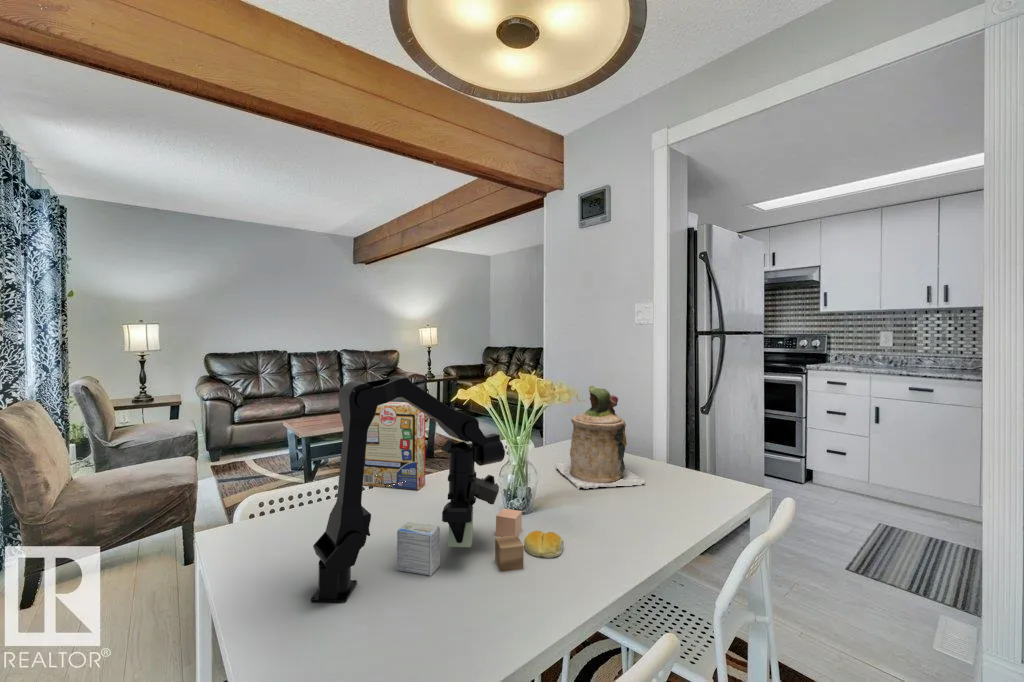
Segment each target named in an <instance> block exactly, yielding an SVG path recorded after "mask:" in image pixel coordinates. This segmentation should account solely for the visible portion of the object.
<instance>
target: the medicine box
mask: <svg viewBox="0 0 1024 682" xmlns="http://www.w3.org/2000/svg"><path fill="white" fill-rule="evenodd" d="M440 531H441V530H440V526H439V525H433V524H426V523H418V522H410V521H407V522H406V523H404V524H403V525H402V526H401V527H400V528H399V529H397V531H396V570H397V571H401V572H406V573H407V572H408V573H413V574H417V575H425V576H426V575H427V576H430V577H431V576H432V575H433V574H434V572H435V571H436V570H438V568H439V567H440V564H441V563H440V562H441V560H440V555H441V549H440V548H441V547H440V544H441V542H440V541H441V539H440V535H441V534H440V533H441V532H440Z"/></svg>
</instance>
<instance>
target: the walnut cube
mask: <svg viewBox="0 0 1024 682" xmlns="http://www.w3.org/2000/svg"><path fill="white" fill-rule="evenodd" d="M524 549H525V547H524V543H523V542H522V540H521V539H520V538H519V535H518V536H517V535H515V536H506V537H500V536H496V537H494V562H495V563H496V566H497V568H498V570H499V572H500V573H502V572H509V571H519V570H524V551H525V550H524Z"/></svg>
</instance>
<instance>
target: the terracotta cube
mask: <svg viewBox="0 0 1024 682" xmlns="http://www.w3.org/2000/svg"><path fill="white" fill-rule="evenodd" d="M522 527H523V511H522V510H516V509H509V508H502V509H501V510H500V511H499V512H498V513H497V514H496V515H495V536H496V537H506V536H515V535H517V536H518V537H519V534H520V533H521V532H522V529H523V528H522Z"/></svg>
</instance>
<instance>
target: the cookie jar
mask: <svg viewBox="0 0 1024 682" xmlns="http://www.w3.org/2000/svg"><path fill="white" fill-rule="evenodd" d="M588 392H589V400H590V405H591V406H590V408H589V409H587V410H586V411H585V412H583V413H581V414H576V415H574V416H572V417H571V419H570V420H571V421H570V422H571V423H572V425H573V427H572V428H573V429H572V434H571V441H570V444H571V445H570V449H569V456H570V462H555V463H554V466H555V468H557V469H558V472H560V473H561V474H562V475H563V476H565V478H566V479H567V480H568V481H570V482H571V483H572V484H573V485H574V486H575V487H576V488H577V489H578V488H579V489H578V490H580V488H582V489H586V490H590V489H589V488H593V489H598V488H599V487H614V488H616V487H615V486H625V485H619V484H616V483H613V482H616V481H618V480H620V479H623V480H627V481H629V482H632V483H634V484H644V485H645V484H646V480H645V479H644V478H642V477H641V476H639V475H637V474H635V473H634V472H632V471H631V470H629V469H626V466H625V465H626V464H625V461H624V457H625V452H626V446H627V445H628V443H627V435H626V426H627V424H626V422H625V419H624V418H621V417H620V416H619V415H618V414H617V413H616V411H615V409H614V408H615V407H617V406H618V402H619V397H618V396H616V395H613V394H610V393H611V392H609V390H607V389H606V388H599V387H598V388H597V387H596V386H593V385H590V386H589V387H588Z"/></svg>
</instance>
